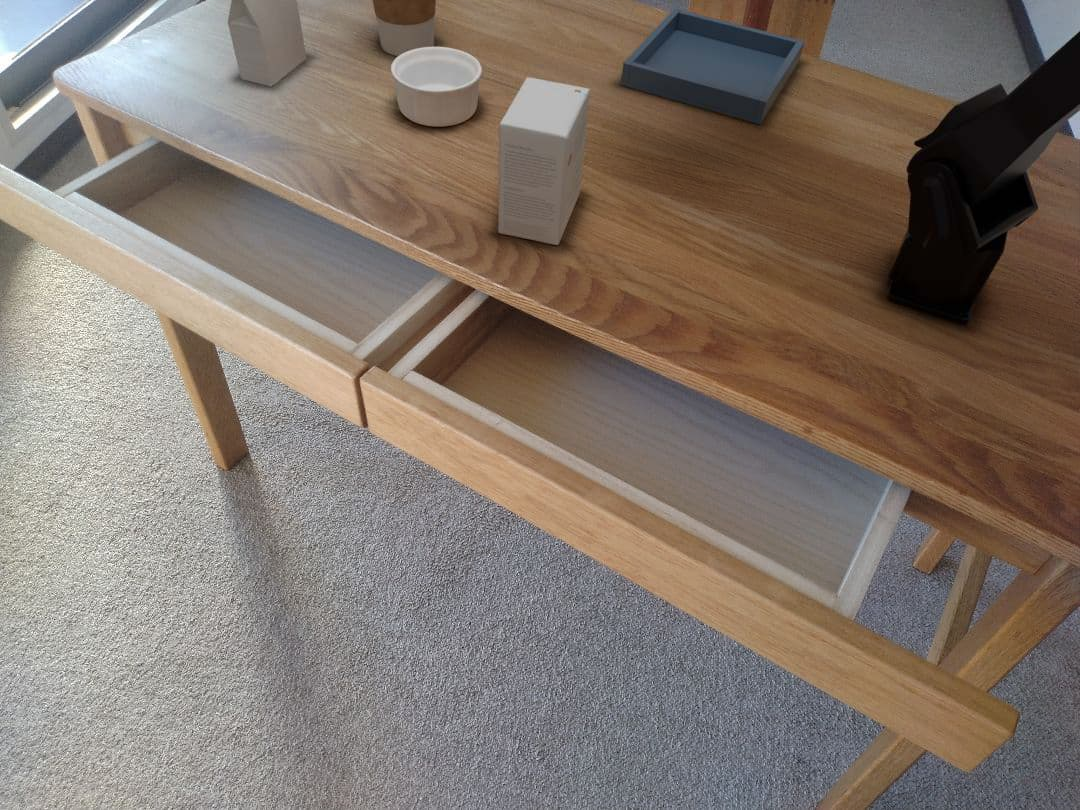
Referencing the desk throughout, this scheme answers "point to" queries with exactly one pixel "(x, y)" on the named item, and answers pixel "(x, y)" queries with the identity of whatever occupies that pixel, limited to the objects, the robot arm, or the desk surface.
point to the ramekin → (436, 85)
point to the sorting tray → (713, 65)
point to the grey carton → (266, 39)
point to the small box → (541, 159)
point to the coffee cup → (405, 24)
